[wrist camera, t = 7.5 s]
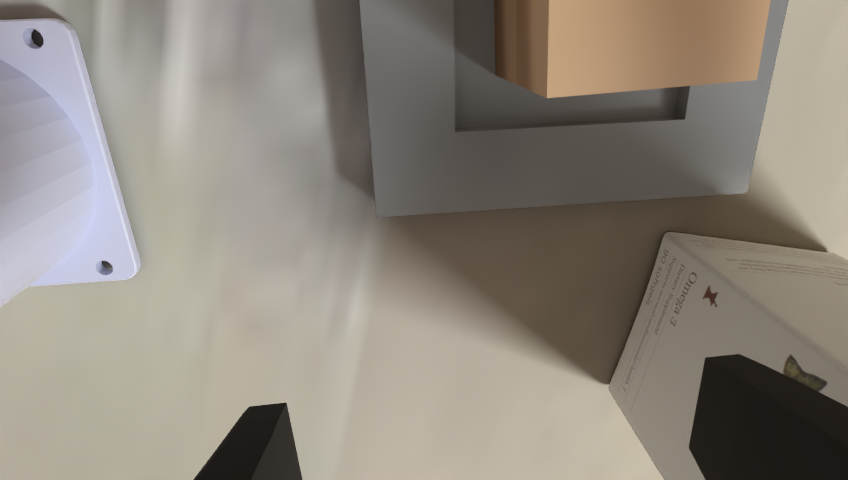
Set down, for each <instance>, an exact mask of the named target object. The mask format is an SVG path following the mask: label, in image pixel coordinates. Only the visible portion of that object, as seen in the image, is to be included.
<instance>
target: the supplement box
mask: <svg viewBox="0 0 848 480" xmlns="http://www.w3.org/2000/svg"><path fill="white" fill-rule="evenodd" d="M734 354H740V355H743V356H745V357H747V358H750V359H752V360H754V361H757V362H759V363H761V364H763V365H765V366H767V367H769V368H771V369H774V370H776V371H778V372H780V373H782V374H784V375H786V376H788V377H790V378H792V379H794V380H796V381H798V382H800V383H802V384H804V385H806V386H808V387H810V388H812V389H814V390H816V391H818V392H820V393H822V394H824V395H826V396H828V397H830V398H832V399H834V400H836V401H838V402H840V403H841V404H843V405H845V406H847V407H848V260H846V259H844V258H842V257H840V256H838V255H836V254H834V253H828V252H821V251H813V250H807V249H798V248H790V247H782V246H776V245H770V244H761V243H753V242H746V241H739V240H731V239H723V238H716V237H707V236H698V235H693V234H684V233H675V232H667V233H665V235H664V236H663V239H662V243H661V246H660V249H659V253H658V256H657V259H656V263H655V266H654V269H653V272H652V275H651V278H650V281H649V284H648V287H647V290H646V292H645V295H644V298H643V301H642V304H641V306H640V309H639V311H638V314H637V317H636V319H635V322H634V324H633V327H632V330H631V332H630V335H629V337H628V340H627V342H626V345H625V348H624V351H623V353H622V355H621V358H620V360H619V363H618V365H617V368H616V370H615V372H614V375H613V377H612V379H611V382H610V384H609V387H608V388H609V391H610V393H611V395H612V396H613V398H614V400H615V401H616V403H617V405H618V406H619V408H620V409H621V411H622V412H623V414H624V416H625V417H626V419H627V421H628V422H629V424H630V426H631V427H632V429H633V430H634V432H635V434H636V435H637V437H638V439H639V440H640V442H641V443H642V445H643V446H644V448H645V450H646V451H647V453H648V454H649V456H650V458H651V459H652V461H653V463H654V465H655V466H656V468H657V469H658V471H659V472H660V474H661V475H662V477H663V479H664V480H705V478H704V476H703V474H702V473H701V471H700V469H699V467H698V465H697V463H696V461H695V459H694V457H693V455H692V453H691V451H690V450H689V442H690V437H691V432H692V426H693V421H694V415H695V410H696V404H697V399H698V394H699V388H700V383H701V377H702V372H703V367H704V361H705V358H706V357H715V356H724V355H734Z"/></svg>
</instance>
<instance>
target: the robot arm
mask: <svg viewBox="0 0 848 480" xmlns="http://www.w3.org/2000/svg"><path fill="white" fill-rule="evenodd" d="M34 29H36V30H37V31H38V32H40V33H41V35H42V37H43V42H44V44H43V45H42V47H41V48H40V47H38V46H37V45H36V44H34V42H33V40H32V35H31V33H32V32H33V30H34ZM102 261H107V262H109V263H110V264H111V265H112V267H113V270H109V269H106V268H105V267H104V266H103V265H102ZM139 269H140V259H139V255H138V251H137V248H136V244H135V241H134V237H133V234H132V230H131V226H130V223H129V219H128V216H127V212H126V208H125V205H124V201H123V198H122V194H121V190H120V187H119V183H118V180H117V176H116V173H115V169H114V165H113V162H112V158H111V155H110V151H109V147H108V144H107V140H106V137H105V133H104V130H103V126H102V122H101V119H100V115H99V112H98V108H97V104H96V101H95V97H94V94H93V90H92V86H91V83H90V79H89V76H88V72H87V69H86V65H85V61H84V58H83V54H82V51H81V47H80V43H79V40H78V36H77V34H76V32H75V30H74V29H73V28H72V27H71V26H70V25H69V24H68V23H67V22H65V21H63V20H61V19H55V18H39V19H14V20H0V307H1V306H3V305H4V304H5V303H7V302H8V301H9V300H11V299H12V298H13V297H14V296H16V295H17V294H18V293H20V292H21V291H22V290H24V289H25V288H26V287H30V286H44V285H58V284H72V283H86V282H100V281H114V280H126V279H130V278H131V277H133V276H134V275H135V274H136V273H137V272H138V271H139ZM689 450H690V451H691V453H692V455H693V457H694V459H695V461H696V463H697V465H698V467H699V469H700V471H701V473H702V474H703V476H704V478H705V480H848V407H847V406H845V405H843V404H841V403H840V402H838V401H836V400H834V399H832V398H830V397H828V396H826V395H824V394H822V393H820V392H818V391H816V390H814V389H812V388H810V387H808V386H806V385H804V384H802V383H800V382H798V381H796V380H794V379H792V378H790V377H788V376H786V375H784V374H782V373H780V372H778V371H776V370H774V369H771V368H769V367H767V366H765V365H763V364H761V363H759V362H757V361H754V360H752V359H750V358H747V357H745V356H743V355H740V354H734V355H724V356H715V357H706V358H705V361H704V367H703V372H702V377H701V383H700V388H699V394H698V399H697V404H696V410H695V415H694V421H693V426H692V432H691V437H690V442H689ZM194 480H302V476H301V471H300V466H299V461H298V457H297V452H296V447H295V442H294V437H293V432H292V428H291V423H290V418H289V413H288V408H287V403H279V404H270V405H261V406H252V407H249V408H248V409H247V410H246V411H245V412H244V413H243V414H242V416H241V417H240V418H239V420H238V421H237V422H236V424H235V425H234V426H233V428H232V429H231V431H230V432H229V433H228V435H227V436H226V437H225V439H224V440H223V441H222V443H221V444H220V445H219V447H218V448H217V449H216V451H215V452H214V453H213V455H212V456H211V457H210V459H209V460H208V461H207V463H206V464H205V465H204V467H203V468H202V469H201V471H200V472H199V473H198V475H197V476H196V477H195V478H194Z"/></svg>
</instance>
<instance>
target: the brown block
mask: <svg viewBox="0 0 848 480" xmlns="http://www.w3.org/2000/svg"><path fill="white" fill-rule="evenodd" d="M770 2H771V0H494V21H495V75H496V76H498V77H500V78H503V79H505V80H507V81H509V82H512V83H514V84H516V85H518V86H521V87H523V88H525V89H527V90H530V91H532V92H534V93H536V94H539V95H541V96H543V97H545V98H556V97H567V96H579V95H590V94H602V93H613V92H625V91H636V90H648V89H659V88H671V87H682V86H694V85H705V84H717V83H728V82H740V81H751V80H757V76H758V71H759V65H760V59H761V53H762V48H763V42H764V36H765V30H766V25H767V19H768V13H769V7H770Z"/></svg>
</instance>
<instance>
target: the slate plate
mask: <svg viewBox="0 0 848 480" xmlns="http://www.w3.org/2000/svg"><path fill="white" fill-rule="evenodd" d="M788 1H789V0H771V2H770V7H769V13H768V19H767V25H766V30H765V36H764V42H763V48H762V53H761V59H760V65H759V71H758V76H757V80H751V81H740V82H728V83H717V84H705V85H694V86H682V87H671V88H659V89H648V90H636V91H625V92H613V93H602V94H590V95H579V96H567V97H556V98H545V97H543V96H541V95H539V94H536V93H534V92H532V91H530V90H527V89H525V88H523V87H521V86H518V85H516V84H514V83H512V82H509V81H507V80H505V79H503V78H500V77H498V76H496V75H495V21H494V0H359V3H360V16H361V29H362V41H363V54H364V67H365V79H366V92H367V105H368V117H369V130H370V143H371V155H372V168H373V181H374V194H375V206H376V218H378V217H393V216H408V215H423V214H439V213H454V212H469V211H484V210H500V209H515V208H530V207H545V206H561V205H576V204H591V203H606V202H622V201H637V200H652V199H667V198H683V197H698V196H713V195H729V194H744V193H747V191H748V186H749V182H750V177H751V172H752V168H753V163H754V158H755V154H756V149H757V145H758V140H759V135H760V131H761V126H762V121H763V117H764V112H765V107H766V103H767V98H768V93H769V89H770V84H771V80H772V75H773V70H774V66H775V61H776V56H777V52H778V47H779V42H780V38H781V33H782V28H783V24H784V19H785V15H786V10H787V5H788Z"/></svg>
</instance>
